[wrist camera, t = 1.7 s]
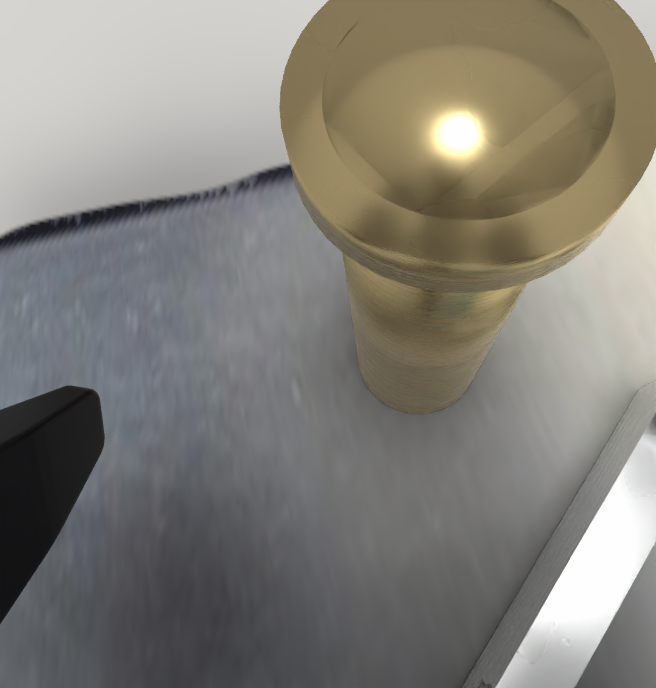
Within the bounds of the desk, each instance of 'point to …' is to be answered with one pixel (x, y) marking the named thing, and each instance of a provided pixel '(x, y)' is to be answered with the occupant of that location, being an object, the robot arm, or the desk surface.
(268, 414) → the desk surface
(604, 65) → the pin
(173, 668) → the desk surface
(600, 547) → the metal roller frame
